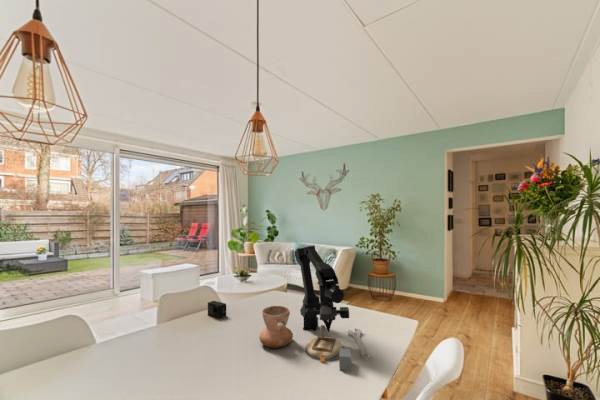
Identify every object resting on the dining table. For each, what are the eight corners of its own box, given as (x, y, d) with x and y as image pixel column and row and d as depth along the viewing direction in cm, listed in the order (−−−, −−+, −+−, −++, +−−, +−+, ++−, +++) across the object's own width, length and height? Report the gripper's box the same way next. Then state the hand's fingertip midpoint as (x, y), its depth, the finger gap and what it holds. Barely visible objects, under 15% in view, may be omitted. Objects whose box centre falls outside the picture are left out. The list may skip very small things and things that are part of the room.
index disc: (301, 355, 107) (301, 338, 108) (311, 338, 121) (311, 323, 122) (339, 361, 103) (339, 343, 103) (345, 342, 117) (345, 327, 117)
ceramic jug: (297, 349, 113) (297, 314, 114) (262, 355, 109) (262, 318, 110) (287, 332, 130) (286, 301, 131) (256, 336, 126) (256, 305, 127)
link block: (339, 370, 98) (339, 356, 98) (340, 361, 104) (339, 348, 104) (350, 371, 97) (350, 357, 97) (350, 362, 103) (350, 348, 103)
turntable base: (301, 360, 104) (301, 355, 104) (307, 339, 121) (307, 335, 121) (343, 363, 102) (343, 358, 102) (344, 342, 119) (344, 337, 119)
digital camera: (205, 315, 152) (205, 303, 152) (213, 312, 157) (213, 300, 157) (218, 319, 146) (218, 306, 147) (226, 316, 151) (226, 303, 151)
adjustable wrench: (370, 361, 104) (370, 356, 104) (353, 360, 105) (353, 356, 105) (360, 331, 129) (360, 328, 129) (347, 331, 130) (346, 327, 130)
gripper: (302, 303, 113) (305, 341, 112) (348, 302, 110) (351, 341, 109) (306, 294, 124) (308, 329, 123) (347, 293, 121) (350, 329, 121)
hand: (328, 332), depth 119 cm, fingers closed
